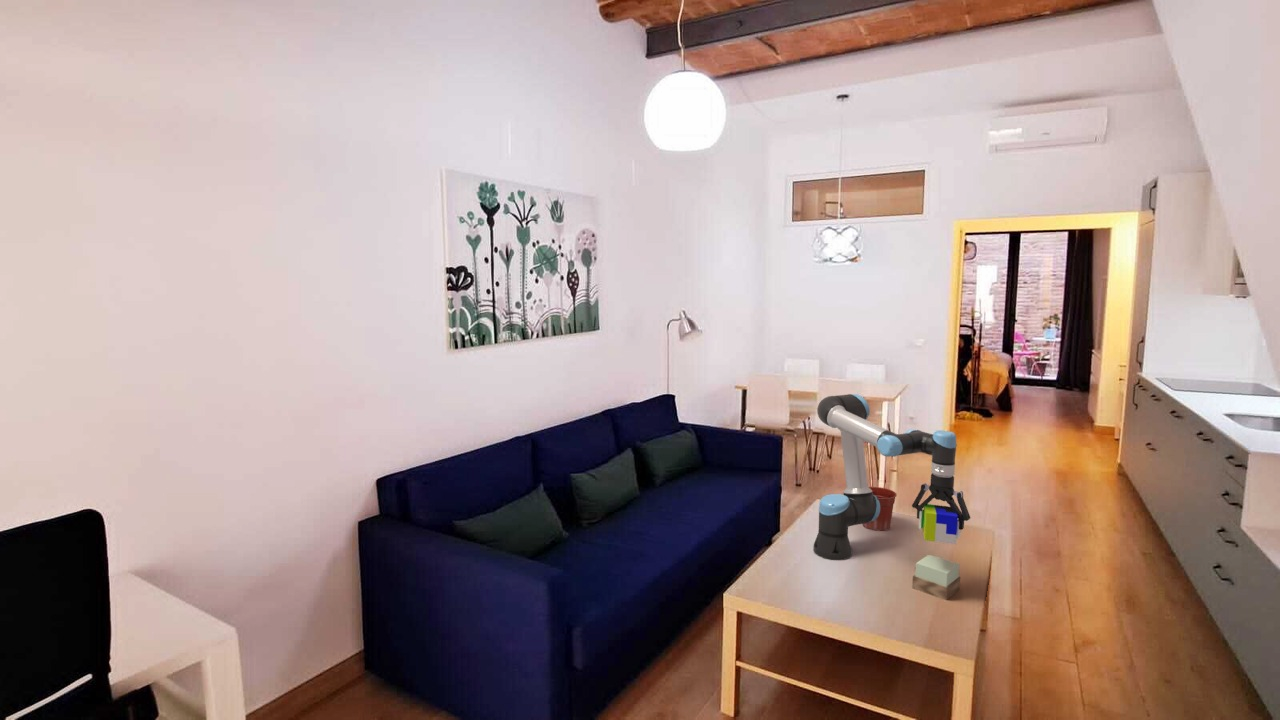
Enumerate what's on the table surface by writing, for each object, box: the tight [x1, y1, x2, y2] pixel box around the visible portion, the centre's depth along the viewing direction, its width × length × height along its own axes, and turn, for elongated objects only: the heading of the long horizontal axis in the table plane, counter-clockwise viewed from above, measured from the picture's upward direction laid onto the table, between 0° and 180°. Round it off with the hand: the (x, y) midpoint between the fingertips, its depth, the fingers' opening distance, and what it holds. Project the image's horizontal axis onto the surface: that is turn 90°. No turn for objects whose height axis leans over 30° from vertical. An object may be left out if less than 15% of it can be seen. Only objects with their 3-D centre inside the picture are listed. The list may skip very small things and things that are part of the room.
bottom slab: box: [911, 574, 961, 601], centre depth 230 cm, size 12×12×5 cm
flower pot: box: [862, 486, 898, 532], centre depth 289 cm, size 16×16×16 cm
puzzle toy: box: [922, 503, 958, 545], centre depth 226 cm, size 10×10×10 cm
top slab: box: [914, 554, 960, 587], centre depth 229 cm, size 11×11×5 cm
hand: (939, 532), depth 228 cm, fingers closed on puzzle toy, 12 cm apart
